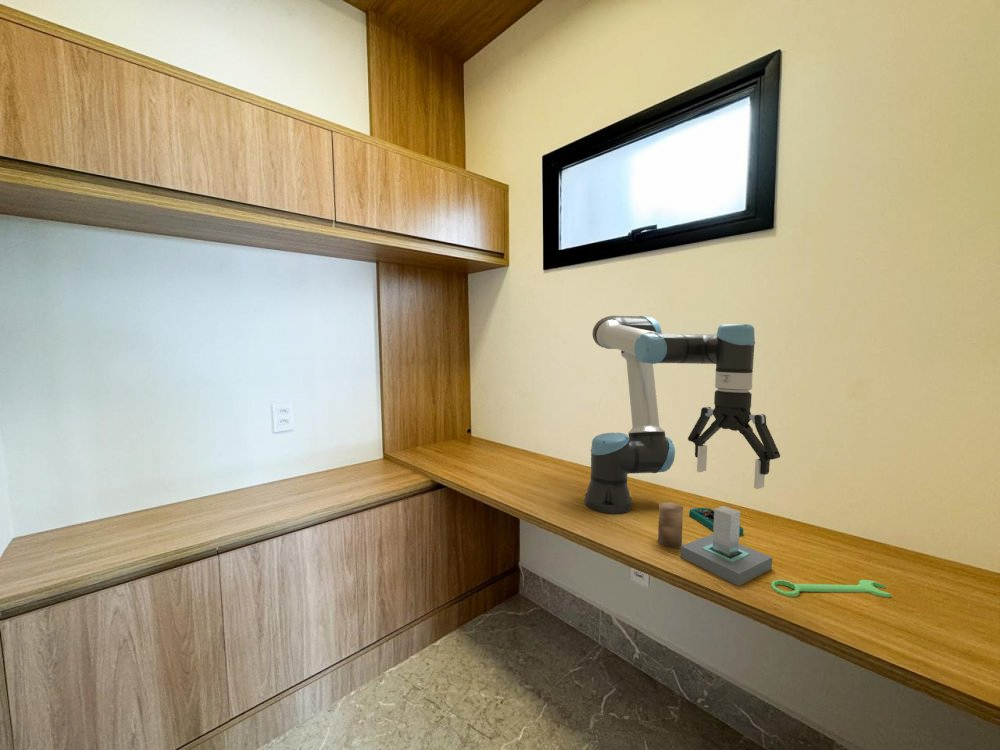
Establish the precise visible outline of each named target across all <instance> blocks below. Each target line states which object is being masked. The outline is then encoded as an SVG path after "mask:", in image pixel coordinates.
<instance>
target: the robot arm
mask: <svg viewBox="0 0 1000 750" xmlns="http://www.w3.org/2000/svg"><path fill="white" fill-rule="evenodd" d="M591 336H592V338H593V341H594V343H596V345H598V346H599V347H601V348H602V349H603V348H604V349H608V350H619V351H620V353H621V357H622V358H624V359H625V360H626V369H627V371H626V372H627V381H628V383H627V384H628V392H629V393H628V395H629V403H630V415H631V416H630V417H631V425H632V428H631V429H630V430H629V431H628V434H626V433H624V432H623V433H622V432H607V433H601V434H597V435H596V436H594V437H593V438H592V440H591V447H590V456H591V457H590V481H589V482H588V483H589V484H588V486H587V489H586V493H585V494H584V504H585V506H586V507H587V508H589V509H591V510H593V511H596V512H600V513H604V514H612V515H615V514H625V513H628V512H630V511H632V509H633V499H632V497H631V495H630V490H629V486H628V474H629V475H630V474H658V473H664V472H667V471H669V470H670V468H671V467H672V466H673V464H674V462H675V459H676V458H675V456H676V449H675V448H676V447H675V445H674V443H673V441H672V439H671V438H669V436H666V431H665V429H664V428H662V427H661V426H660V420H659V418H660V417H659V411H658V410H659V409H658V401H657V391H656V390H657V389H656V381H655V372H654V371H655V370H654V365H655V364H691V365H692V364H696V365H698V364H701V365H705V364H706V365H715V378H714V379H715V382H714V383H715V384H714V388H716V390H715V391H714V399H713V404H714V408H712V407H711V406H705V407H702V408H701V409H700V410H701V411H700V416H699V417H698V419H697V421H696V423H695V424H694V427H693V428H692V430H691V432H690V433H689V436H688V437H687V441H689V442H691V443H693V444H694V458H697V459H696V461H697V462H696V463H697V464H696V472H697V473H702V472H703V473H704V472H706V471H707V463H708V462H707V458H708V445H706V442H707V441H708V440H709V439H711V438H712V437H713V436H714V435H715V434H716V433H717V432H718V431H719V430H721V429H723V430H730V431H734V432H737V431H738V432H739V433H740V434H741V435H743V437H744V438H745V440H746V441H747V443H748V444H749V445H750V447H751V448H752V450H753V451H754V452H755V454H756V455H757V456H758V458H755V463H754V465H755V466H754V480H753V481H754V482H753V483H754V484H753V489H756V490H759V489H762V488H764V487H765V476H766V475H769V473H770V462H771V460H777V459H780V458H781V454H780V451H779V449H778V446H777V444H776V443H775V439H773V436H772V433H771V431H770V429H769V428H768V425H767V416H766V414H763V413H760V414H752V413H751V408H752V393H751V392H750V391H751V390H752V389H753V374H754V373H753V372H754V371H753V370H754V357H755V355H754V354H755V344H756V341H755V328H754V326H753V325H751V324H748V323H747V324H745V323H734V324H733V323H730V324H728V323H726V324H721V325H719V326H718V328H717V332H716V334H715V333H714V334H713V333H711V334H708V333H707V334H703V333H702V334H697V333H694V334H691V333H685V334H683V333H663V332H662V327H661V325H660V324H659V322H658V321H657V319H655V318H654V317H651V316H644V315H637V316H635V315H631V316H630V315H609V316H605V317H602V318H601V319H599V320H598V321H597V322H596V323H595V325H593V329H592V335H591ZM712 416H713V417H714V418H715V419H714V421H713V422H712V423H710V425H709V427H708V428H706V430H705V431H704V429H705V427H706V426H707V424H708V422H709V421H710V418H711V417H712ZM750 422H752V424H753V425H754V426H755V429H756V432H757V433H758V436H759V437H758V436H757V435H756V433H755V432H754V429H753V428H752V426H751V425H750V424H749V423H750ZM703 431H704V432H703ZM759 438H760V439H759Z"/></svg>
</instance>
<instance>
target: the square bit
mask: <svg viewBox="0 0 1000 750" xmlns="http://www.w3.org/2000/svg"><path fill="white" fill-rule="evenodd" d="M713 510H714V527H713V531H712V534H713V549H712V551H714V552H717V553H719V554H721V555H723V556H725V557H728V558H730V559H731V558H733V557H735V556H738V550H739V544H740V535H739V530H740V526H741V525H740V524H741V511H740V510H737V509H734V508H731V507H728V506H725V505H721V506H719V507H716V508H714V509H713Z"/></svg>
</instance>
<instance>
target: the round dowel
mask: <svg viewBox="0 0 1000 750" xmlns="http://www.w3.org/2000/svg"><path fill="white" fill-rule="evenodd" d="M683 519H684V507H683V506H682V505H681V504H678V503H677V502H676V503H675V502H671V501H662V502H660V503H659V505H658V530H657V531H658V533H657V542H658V544H660V545H661V546H662V547H665V548H668V549H681V546H682V545H683V543H682V542H683V521H684V520H683Z"/></svg>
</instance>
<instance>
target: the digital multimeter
mask: <svg viewBox="0 0 1000 750" xmlns="http://www.w3.org/2000/svg"><path fill="white" fill-rule="evenodd" d="M688 513H689V514H688V515H689V517H690V518H692V519H694V520H696V521H697V522H698V523H700V524H702V525H703V526H705V527H706V528H707V529H709V530H710V531H712V532H713V527H714V509H712V508H710V507H696V508H695V507H694V508H691V509H689V512H688ZM742 535H744V527H742V526H741V525H740V530H739V536H742Z"/></svg>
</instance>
